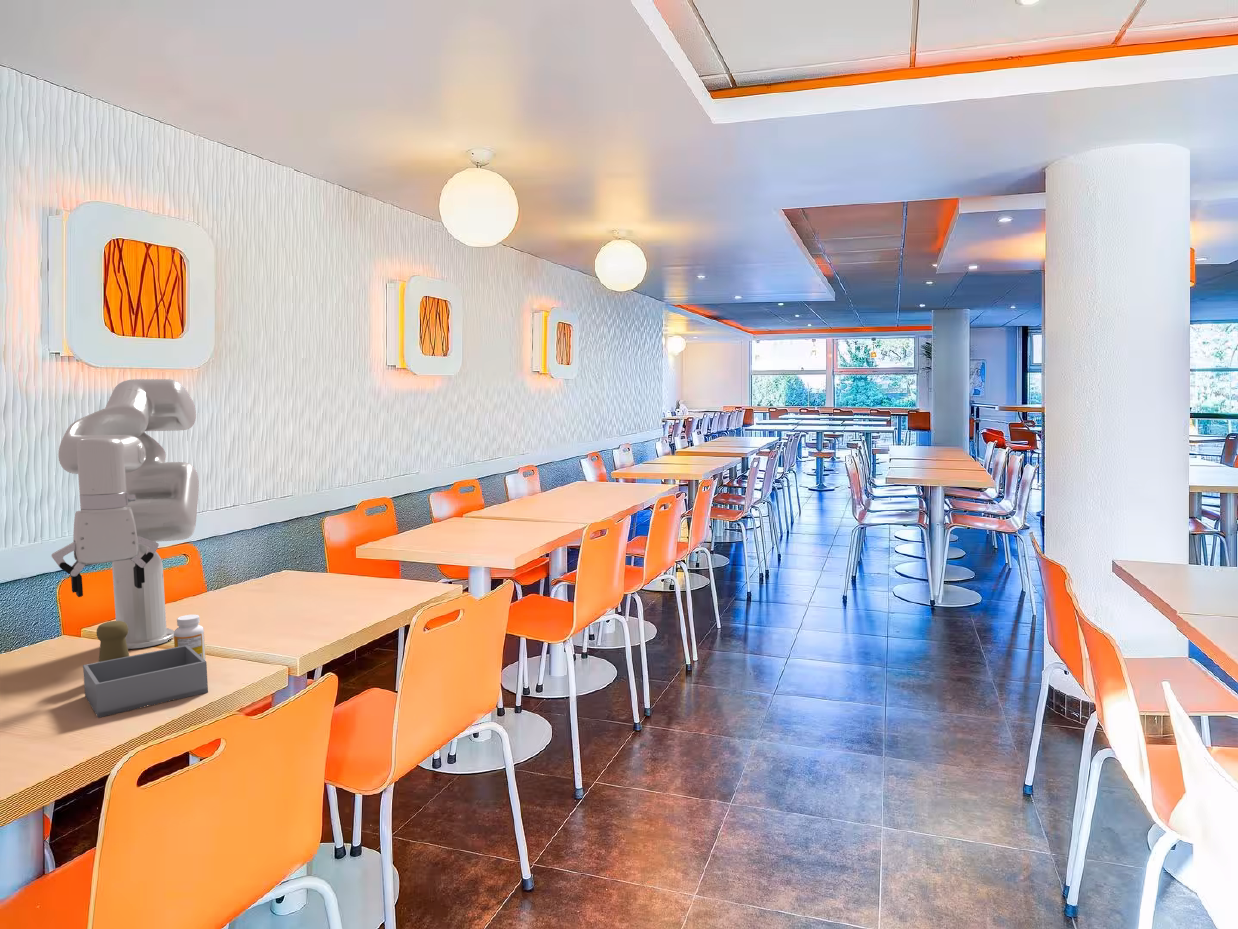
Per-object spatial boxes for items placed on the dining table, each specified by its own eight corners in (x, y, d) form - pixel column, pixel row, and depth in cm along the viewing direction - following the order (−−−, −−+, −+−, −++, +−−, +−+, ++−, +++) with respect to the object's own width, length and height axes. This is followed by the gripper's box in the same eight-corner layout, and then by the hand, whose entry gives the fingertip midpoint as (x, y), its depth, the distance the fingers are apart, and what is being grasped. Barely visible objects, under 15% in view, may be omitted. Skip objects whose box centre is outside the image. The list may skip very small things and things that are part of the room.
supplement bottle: (182, 660, 166) (180, 613, 166) (210, 659, 167) (207, 613, 166) (170, 668, 161) (167, 621, 160) (198, 667, 162) (196, 620, 161)
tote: (85, 696, 147) (82, 665, 146) (189, 673, 158) (187, 645, 157) (98, 717, 137) (95, 684, 136) (208, 692, 148) (206, 661, 148)
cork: (116, 684, 153) (112, 627, 152) (89, 682, 154) (85, 626, 153) (141, 673, 159) (137, 618, 158) (114, 671, 160) (111, 617, 159)
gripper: (151, 497, 162) (155, 581, 163) (45, 505, 150) (52, 595, 151) (159, 500, 156) (164, 587, 157) (51, 508, 145) (57, 602, 146)
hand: (109, 591), depth 154 cm, fingers open, 9 cm apart
